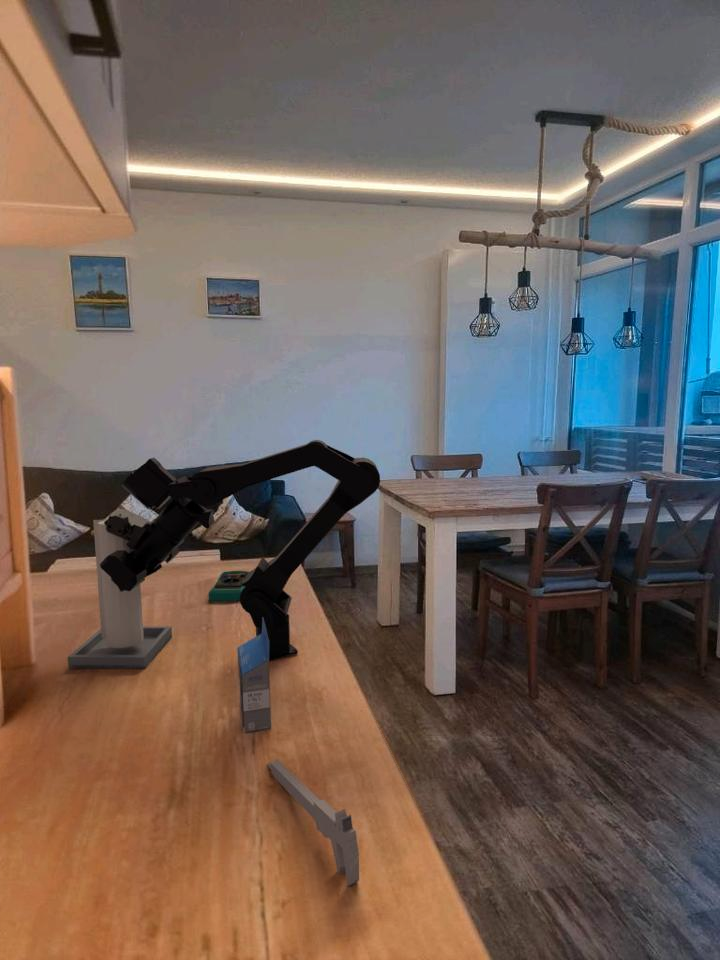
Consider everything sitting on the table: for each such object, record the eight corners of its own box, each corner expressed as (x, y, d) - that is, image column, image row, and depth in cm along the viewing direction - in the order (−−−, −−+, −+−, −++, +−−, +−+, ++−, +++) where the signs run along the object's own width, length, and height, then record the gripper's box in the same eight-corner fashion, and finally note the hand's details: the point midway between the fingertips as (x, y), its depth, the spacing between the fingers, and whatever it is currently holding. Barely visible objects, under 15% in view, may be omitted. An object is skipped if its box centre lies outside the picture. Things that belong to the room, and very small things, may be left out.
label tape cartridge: (238, 700, 85) (235, 619, 83) (265, 696, 86) (263, 616, 84) (243, 734, 76) (239, 644, 74) (273, 729, 77) (270, 641, 75)
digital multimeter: (252, 581, 140) (252, 569, 139) (242, 603, 125) (241, 589, 125) (221, 581, 140) (221, 570, 139) (208, 604, 125) (207, 590, 125)
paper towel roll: (148, 643, 99) (140, 520, 97) (110, 652, 96) (101, 524, 94) (137, 631, 105) (130, 514, 103) (101, 639, 102) (93, 518, 100)
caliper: (360, 886, 53) (359, 824, 52) (349, 891, 52) (349, 828, 51) (274, 764, 70) (273, 716, 69) (266, 767, 70) (264, 718, 69)
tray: (172, 636, 107) (171, 626, 107) (145, 668, 94) (144, 657, 94) (104, 636, 107) (103, 626, 107) (68, 668, 95) (67, 657, 94)
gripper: (157, 485, 106) (103, 544, 108) (107, 504, 87) (43, 576, 90) (202, 527, 106) (148, 585, 109) (162, 555, 88) (97, 625, 90)
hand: (112, 591), depth 99 cm, fingers closed on paper towel roll, 3 cm apart
